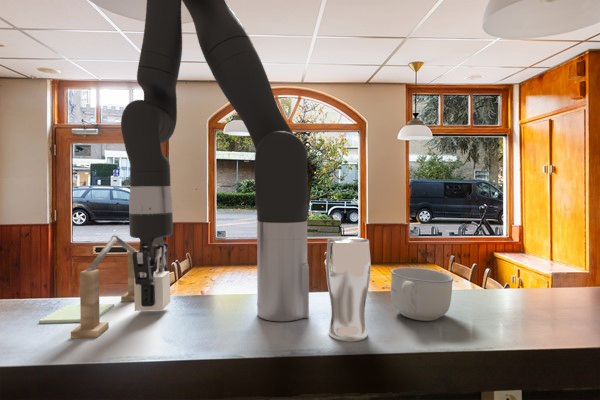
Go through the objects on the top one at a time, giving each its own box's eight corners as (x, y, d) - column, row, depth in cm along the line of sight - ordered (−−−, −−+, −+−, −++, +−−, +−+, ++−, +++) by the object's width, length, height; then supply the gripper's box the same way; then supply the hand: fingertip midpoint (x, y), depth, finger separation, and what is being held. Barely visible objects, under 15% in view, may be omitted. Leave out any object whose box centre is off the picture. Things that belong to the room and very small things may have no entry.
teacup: (409, 303, 77) (409, 264, 77) (463, 315, 69) (463, 272, 69) (369, 319, 67) (369, 274, 67) (426, 336, 59) (426, 285, 59)
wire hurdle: (147, 295, 83) (146, 229, 83) (97, 337, 59) (96, 243, 59) (128, 296, 83) (127, 229, 82) (70, 338, 59) (69, 243, 58)
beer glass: (369, 344, 56) (370, 243, 56) (323, 341, 57) (323, 242, 57) (370, 328, 63) (370, 237, 62) (328, 325, 64) (328, 236, 64)
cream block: (170, 301, 74) (169, 271, 74) (163, 309, 69) (162, 276, 69) (143, 302, 74) (143, 272, 73) (134, 310, 69) (134, 277, 68)
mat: (114, 306, 75) (114, 303, 75) (93, 321, 66) (93, 318, 66) (66, 307, 74) (66, 305, 74) (38, 323, 65) (38, 320, 65)
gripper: (160, 212, 64) (162, 312, 64) (180, 209, 78) (182, 291, 79) (114, 213, 63) (117, 314, 64) (143, 209, 78) (145, 292, 78)
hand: (153, 301), depth 71 cm, fingers closed on cream block, 5 cm apart
